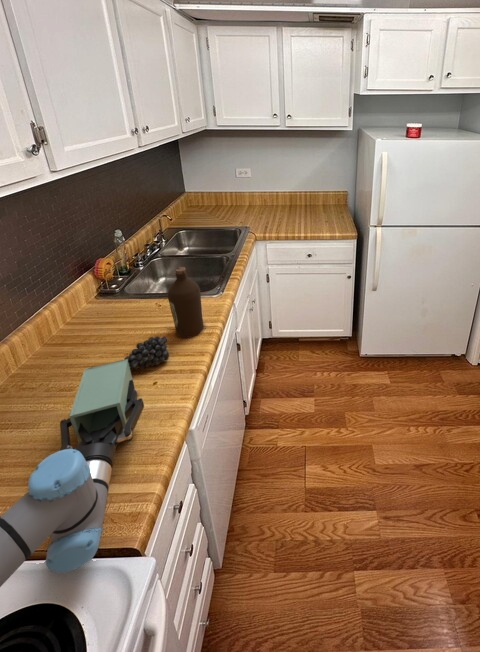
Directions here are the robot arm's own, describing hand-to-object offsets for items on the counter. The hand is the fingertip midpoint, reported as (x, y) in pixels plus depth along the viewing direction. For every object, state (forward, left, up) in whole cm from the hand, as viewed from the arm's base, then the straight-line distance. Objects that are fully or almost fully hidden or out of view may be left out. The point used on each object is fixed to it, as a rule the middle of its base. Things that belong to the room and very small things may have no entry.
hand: (109, 389), depth 88 cm
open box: (+4, -2, 0) cm, 4 cm away
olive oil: (-18, +30, -7) cm, 35 cm away
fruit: (-11, +12, -7) cm, 18 cm away
